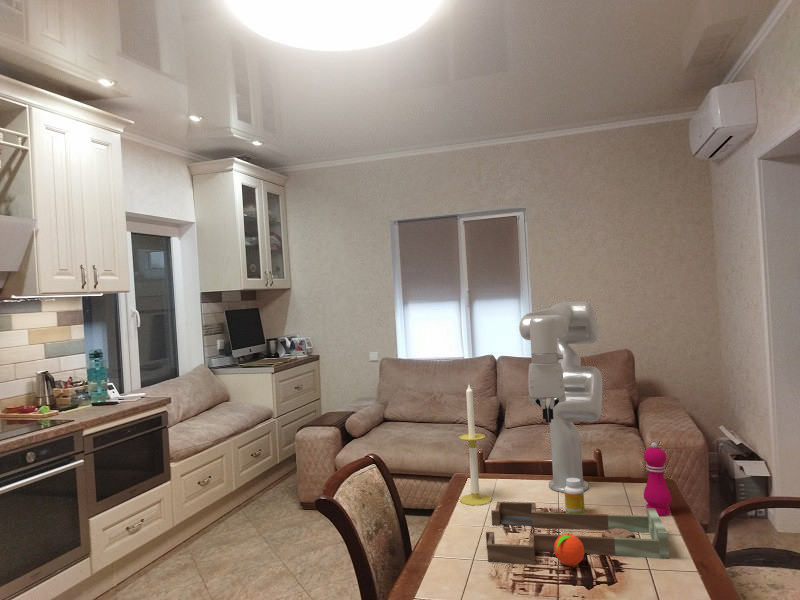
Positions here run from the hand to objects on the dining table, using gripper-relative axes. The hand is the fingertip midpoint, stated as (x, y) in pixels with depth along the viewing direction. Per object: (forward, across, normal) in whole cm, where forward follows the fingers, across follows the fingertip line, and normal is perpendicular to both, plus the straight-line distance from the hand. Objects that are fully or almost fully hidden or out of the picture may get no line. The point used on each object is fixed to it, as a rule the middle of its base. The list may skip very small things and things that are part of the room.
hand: (548, 421), depth 164 cm
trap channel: (+27, -5, +17) cm, 32 cm away
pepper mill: (+27, -29, -5) cm, 40 cm away
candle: (+27, +24, -10) cm, 38 cm away
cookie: (+28, -16, +18) cm, 36 cm away
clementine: (+27, -3, +31) cm, 42 cm away
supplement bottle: (+27, -6, -2) cm, 28 cm away
